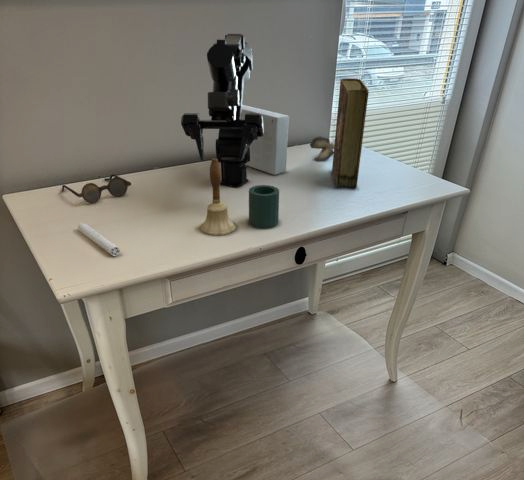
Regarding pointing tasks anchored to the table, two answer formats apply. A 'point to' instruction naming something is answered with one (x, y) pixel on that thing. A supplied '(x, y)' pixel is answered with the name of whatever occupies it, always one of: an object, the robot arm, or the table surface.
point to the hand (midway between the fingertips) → (221, 159)
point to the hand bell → (217, 207)
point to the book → (349, 132)
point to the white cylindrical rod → (98, 239)
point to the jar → (263, 206)
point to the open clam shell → (323, 148)
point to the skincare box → (269, 142)
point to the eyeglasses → (93, 192)
